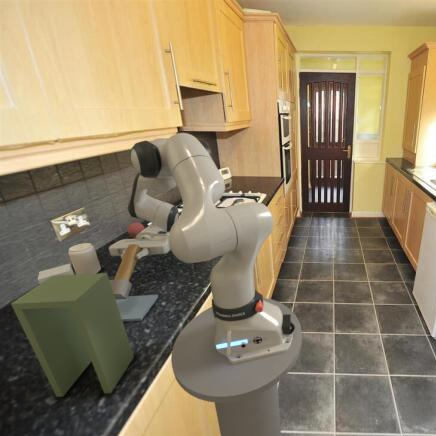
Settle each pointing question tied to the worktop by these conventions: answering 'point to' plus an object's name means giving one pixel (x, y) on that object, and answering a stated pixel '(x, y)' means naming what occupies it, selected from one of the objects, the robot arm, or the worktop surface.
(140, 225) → the light bulb
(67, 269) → the small box
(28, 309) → the green arch block
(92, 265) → the beverage can
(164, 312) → the worktop surface
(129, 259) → the mallet
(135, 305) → the mat
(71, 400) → the worktop surface
